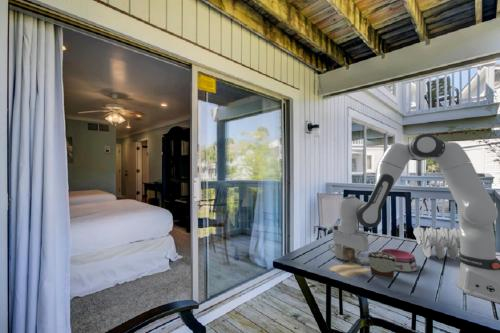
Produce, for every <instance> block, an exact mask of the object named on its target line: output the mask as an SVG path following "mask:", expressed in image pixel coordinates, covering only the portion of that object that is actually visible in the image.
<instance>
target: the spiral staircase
mask: <svg viewBox="0 0 500 333" xmlns="http://www.w3.org/2000/svg"><path fill="white" fill-rule="evenodd" d="M413 235H414V236H415V238H416V242H417V245H422V250H421V251H422V252H423V254H424V257H427V259H430V258H431V256H432V252H434V253H435V256H436V258H438V259H439V260H440V259H441V260H442V259H443V258H444V256H445V253H446V255H448V256H449V259H453V260H456V259H457V257H459V252H460V230H459V228H457V227H456V226H455V227H453V228H452V229H451V228H446V227H445V228H444V226H441V227H440V228H437V229H434V228H433V226H430V227H426V228H423V227H421V226H420V225H418V226H417V227H414V229H413ZM432 247H433V249H432ZM445 249H446V251H445Z"/></svg>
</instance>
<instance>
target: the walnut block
mask: <svg viewBox="0 0 500 333" xmlns="http://www.w3.org/2000/svg"><path fill="white" fill-rule="evenodd" d="M355 252H356V251H355V249H353V248H350V247H348V248H343V259H346V260H345V261H348V262H354V261H356V260H358V258H359V257H358V258H355V257H353V254H355Z"/></svg>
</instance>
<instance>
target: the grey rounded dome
mask: <svg viewBox="0 0 500 333" xmlns="http://www.w3.org/2000/svg"><path fill="white" fill-rule="evenodd" d="M355 263H356V264H358V265H361V266H370V262H369V257H363V256H362V257H359V256H358V260H355Z"/></svg>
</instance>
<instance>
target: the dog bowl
mask: <svg viewBox="0 0 500 333" xmlns="http://www.w3.org/2000/svg"><path fill="white" fill-rule="evenodd" d="M379 252H383V253H388V254H391V255H393V256H395V258H396V261H397V262H396V261H395V270H394V272H398V273H408V274H409V273H410V274H411V273H416V272H418V270H419V268H418V265H417V260H416V257H415V255H414V254H413V253H411V252H409V251H406V250H402V249H398V248H383V249H381V250H380V251H379Z"/></svg>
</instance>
